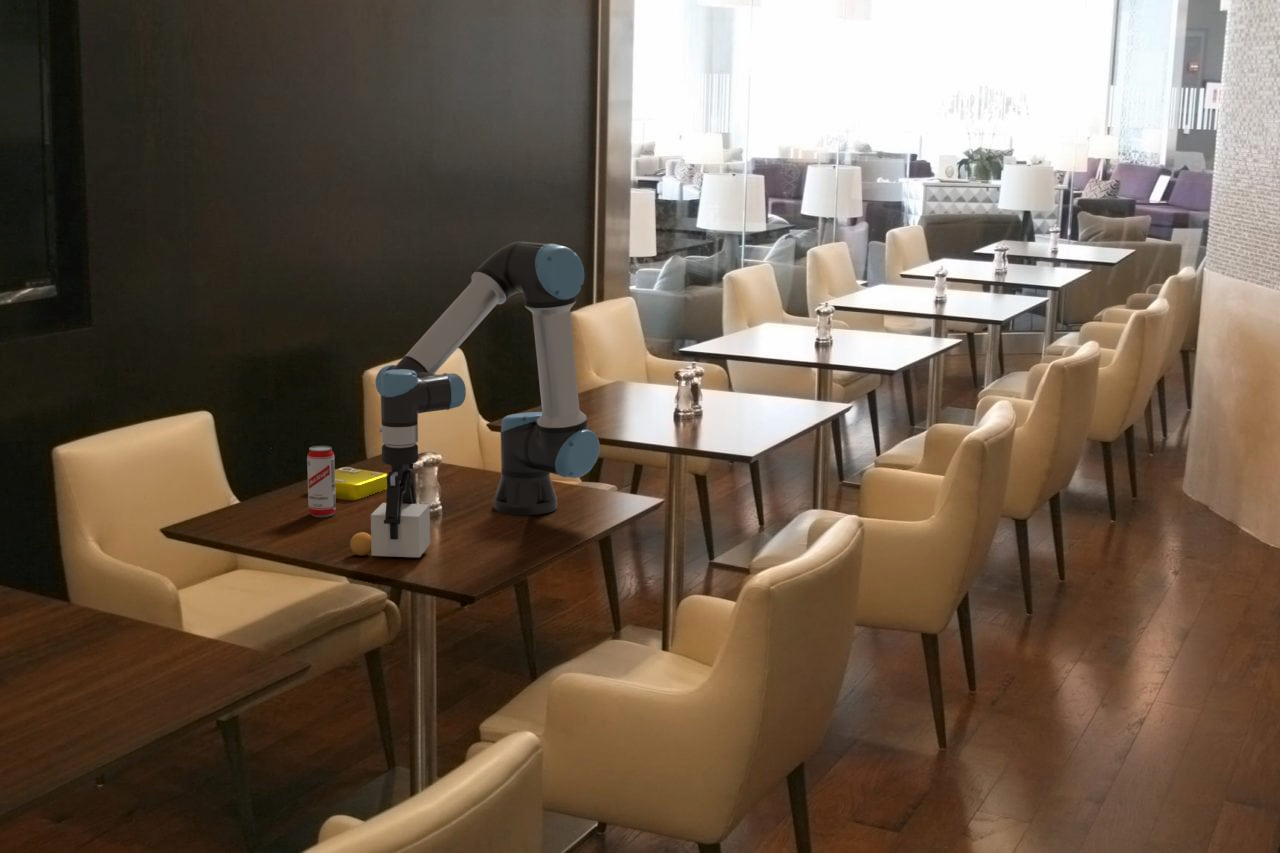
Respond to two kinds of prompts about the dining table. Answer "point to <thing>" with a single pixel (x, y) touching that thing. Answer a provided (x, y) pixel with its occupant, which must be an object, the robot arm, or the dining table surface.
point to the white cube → (413, 530)
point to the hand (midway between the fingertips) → (401, 546)
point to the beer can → (321, 481)
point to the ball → (361, 544)
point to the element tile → (358, 483)
